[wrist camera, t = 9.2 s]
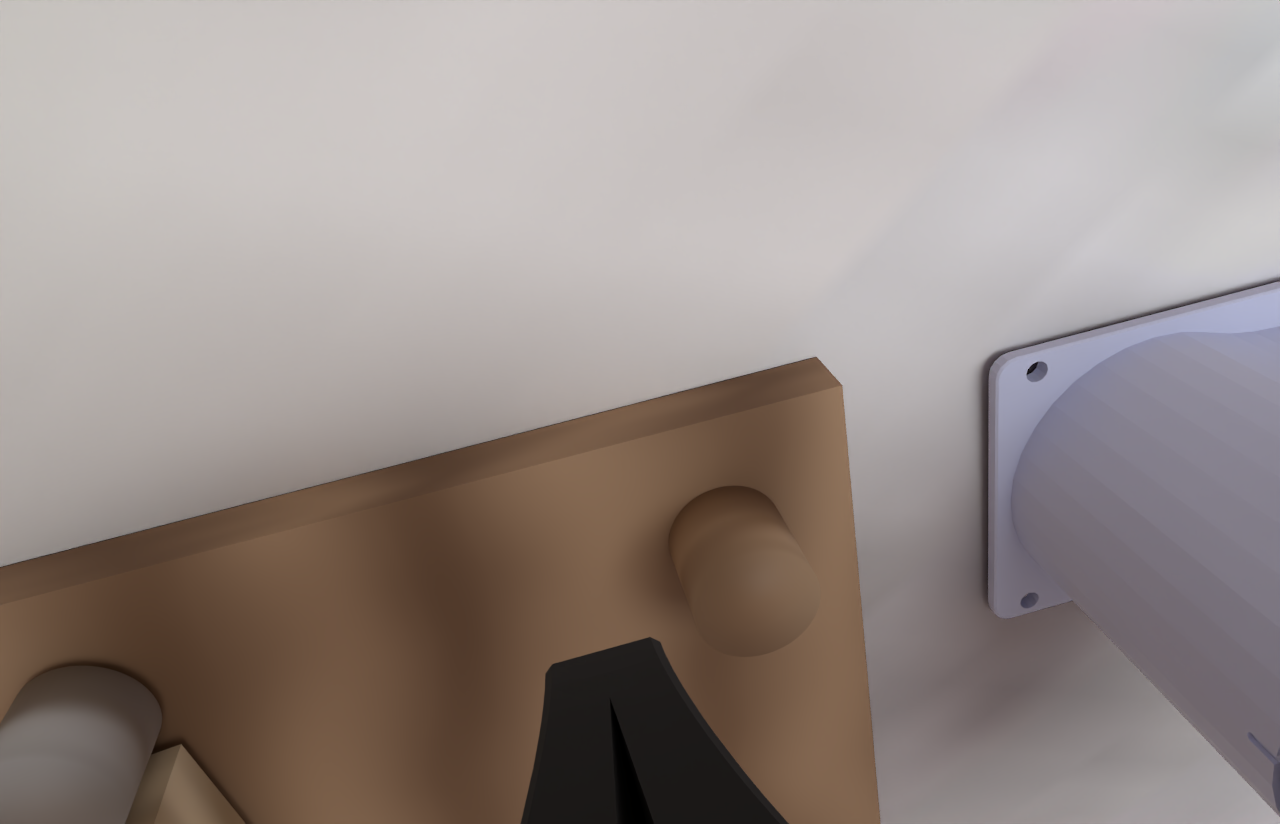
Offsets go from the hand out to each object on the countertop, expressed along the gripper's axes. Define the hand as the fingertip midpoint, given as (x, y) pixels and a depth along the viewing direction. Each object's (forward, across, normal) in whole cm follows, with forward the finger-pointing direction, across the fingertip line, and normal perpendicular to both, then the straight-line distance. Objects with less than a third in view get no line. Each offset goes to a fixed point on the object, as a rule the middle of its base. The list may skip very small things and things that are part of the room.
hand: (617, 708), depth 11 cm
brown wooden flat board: (+9, +4, +11) cm, 15 cm away
